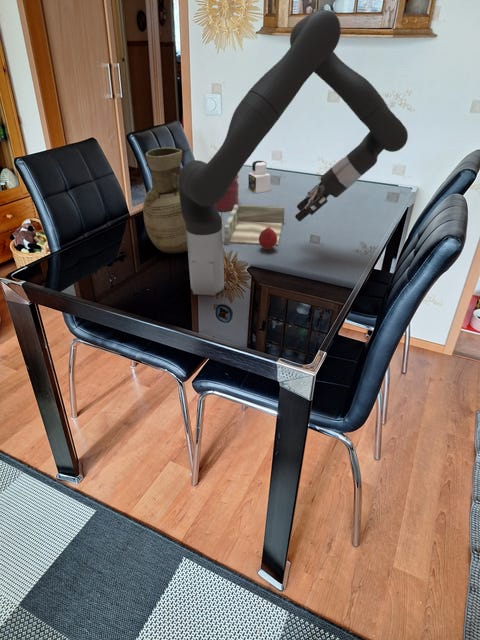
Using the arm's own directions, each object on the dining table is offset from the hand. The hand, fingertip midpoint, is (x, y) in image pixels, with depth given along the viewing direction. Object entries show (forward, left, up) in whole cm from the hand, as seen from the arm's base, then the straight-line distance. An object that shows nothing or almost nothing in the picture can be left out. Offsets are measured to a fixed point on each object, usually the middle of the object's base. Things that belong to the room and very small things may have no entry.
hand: (297, 213), depth 130 cm
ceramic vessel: (-1, +39, -13) cm, 41 cm away
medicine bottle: (+60, +19, -13) cm, 64 cm away
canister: (+38, +31, -13) cm, 51 cm away
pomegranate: (0, +9, -13) cm, 15 cm away
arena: (+13, +14, -12) cm, 23 cm away
